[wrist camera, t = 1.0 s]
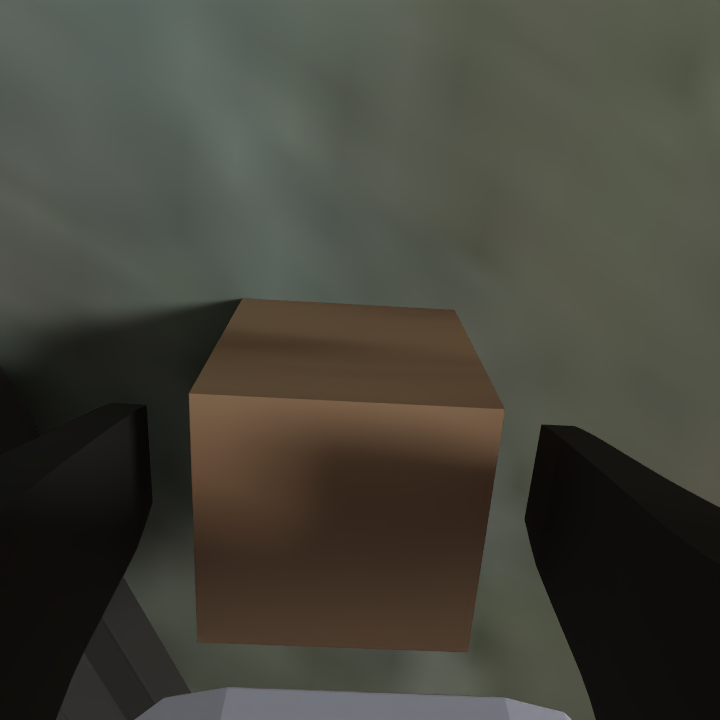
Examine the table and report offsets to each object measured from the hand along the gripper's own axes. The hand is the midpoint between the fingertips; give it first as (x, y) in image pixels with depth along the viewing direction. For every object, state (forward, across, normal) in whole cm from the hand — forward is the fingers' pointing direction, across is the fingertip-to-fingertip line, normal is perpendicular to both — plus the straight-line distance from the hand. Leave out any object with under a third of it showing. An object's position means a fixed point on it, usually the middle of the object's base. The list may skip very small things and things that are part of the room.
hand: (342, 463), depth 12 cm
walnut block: (+3, 0, 0) cm, 3 cm away
